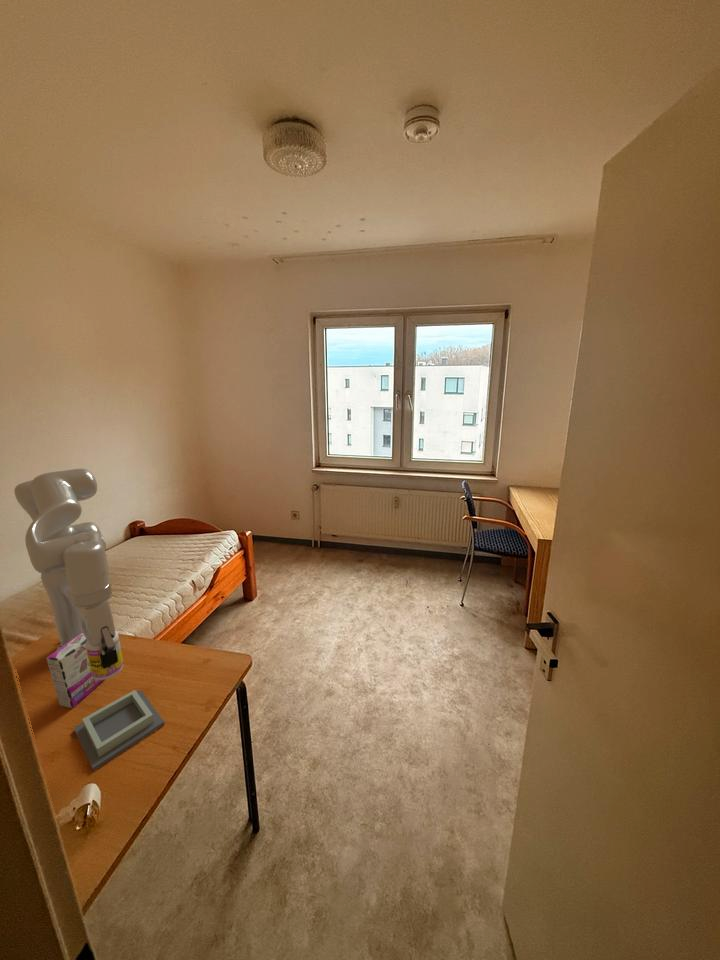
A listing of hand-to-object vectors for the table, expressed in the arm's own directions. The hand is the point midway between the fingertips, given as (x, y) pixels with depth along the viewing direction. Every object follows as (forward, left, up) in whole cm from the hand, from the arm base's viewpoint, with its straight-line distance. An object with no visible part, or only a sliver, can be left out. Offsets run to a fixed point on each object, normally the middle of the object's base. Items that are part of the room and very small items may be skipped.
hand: (105, 657), depth 91 cm
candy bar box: (-21, -3, -22) cm, 31 cm away
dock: (0, 0, -22) cm, 22 cm away
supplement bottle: (0, 0, -4) cm, 4 cm away
